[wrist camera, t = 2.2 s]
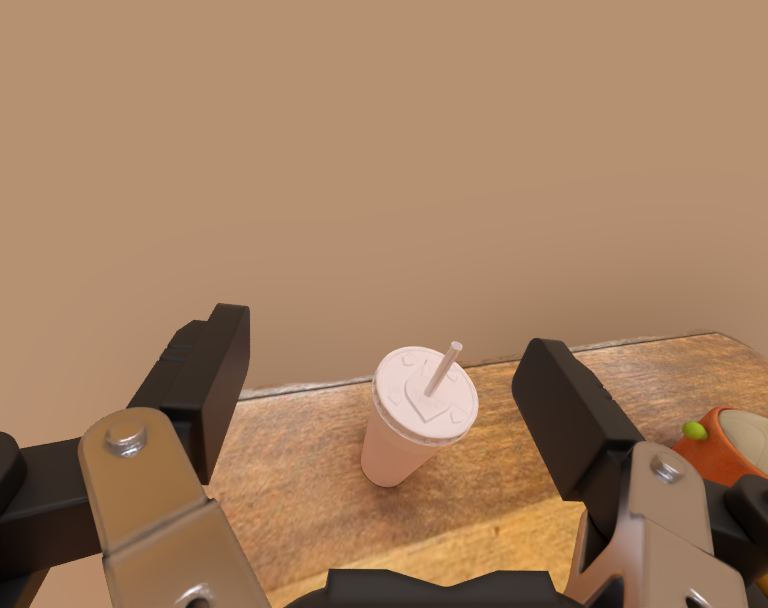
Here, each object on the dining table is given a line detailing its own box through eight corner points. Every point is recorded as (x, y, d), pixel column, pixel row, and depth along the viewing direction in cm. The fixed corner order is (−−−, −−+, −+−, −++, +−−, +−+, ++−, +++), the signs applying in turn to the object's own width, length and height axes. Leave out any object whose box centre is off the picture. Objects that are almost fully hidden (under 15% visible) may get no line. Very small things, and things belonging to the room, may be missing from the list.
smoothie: (331, 492, 26) (387, 366, 17) (353, 412, 31) (405, 281, 22) (421, 519, 26) (522, 409, 17) (428, 435, 31) (511, 316, 22)
